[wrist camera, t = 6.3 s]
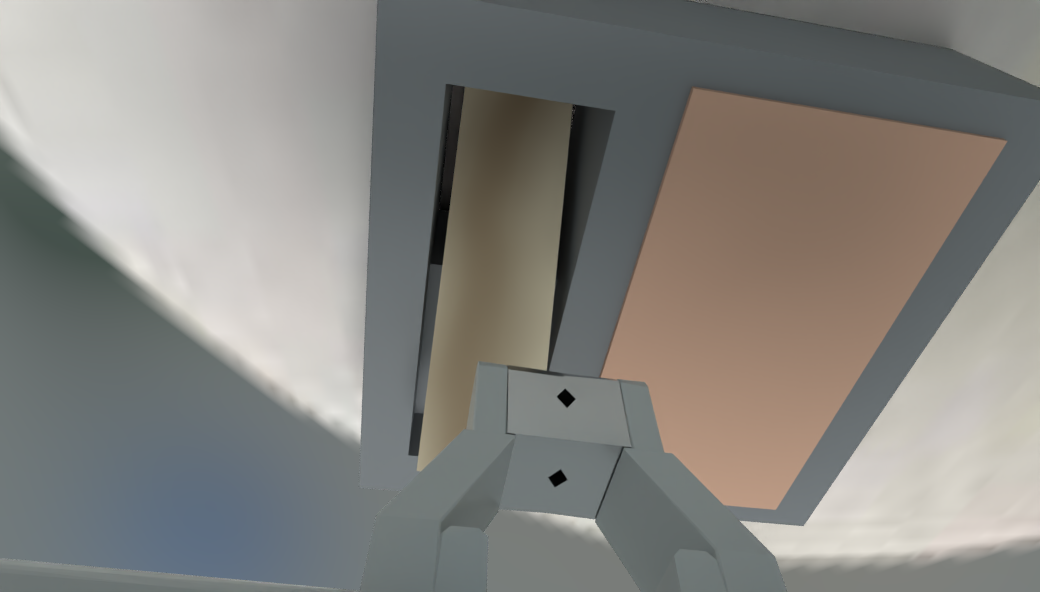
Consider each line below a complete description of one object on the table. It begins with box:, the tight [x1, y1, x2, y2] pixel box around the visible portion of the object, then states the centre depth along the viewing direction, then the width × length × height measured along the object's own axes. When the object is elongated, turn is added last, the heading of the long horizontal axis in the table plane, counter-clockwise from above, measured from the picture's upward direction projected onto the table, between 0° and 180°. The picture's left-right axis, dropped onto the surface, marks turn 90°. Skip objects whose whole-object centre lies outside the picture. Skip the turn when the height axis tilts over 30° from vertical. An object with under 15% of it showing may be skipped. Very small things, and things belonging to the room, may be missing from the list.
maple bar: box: [417, 87, 573, 471], centre depth 24 cm, size 4×14×2 cm
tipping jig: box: [359, 0, 1040, 526], centre depth 26 cm, size 21×20×7 cm
